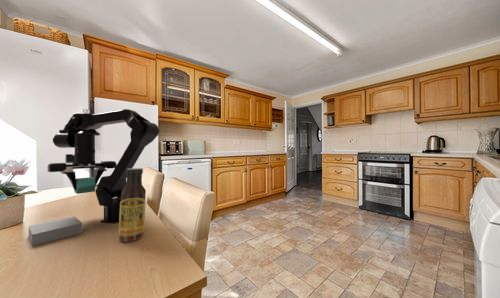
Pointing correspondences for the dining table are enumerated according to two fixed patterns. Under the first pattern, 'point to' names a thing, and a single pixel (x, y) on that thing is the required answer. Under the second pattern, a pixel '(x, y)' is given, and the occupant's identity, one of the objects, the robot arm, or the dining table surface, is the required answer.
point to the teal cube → (85, 185)
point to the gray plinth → (54, 230)
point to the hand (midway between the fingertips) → (84, 189)
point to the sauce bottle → (132, 207)
